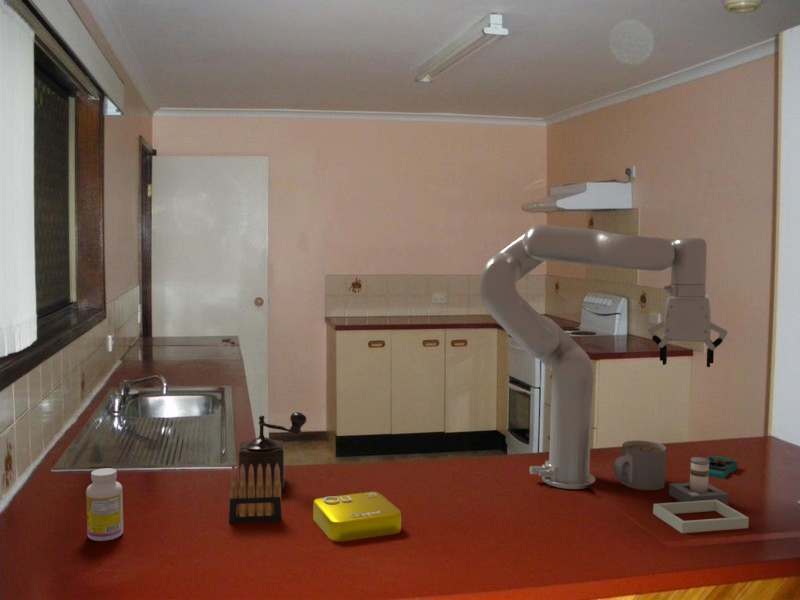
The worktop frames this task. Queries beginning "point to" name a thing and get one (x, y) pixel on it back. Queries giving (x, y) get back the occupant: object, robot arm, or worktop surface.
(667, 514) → the parts tray
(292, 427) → the manual coffee grinder
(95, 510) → the supplement bottle
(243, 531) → the worktop surface
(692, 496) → the fuse holder
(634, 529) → the worktop surface
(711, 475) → the digital multimeter
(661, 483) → the coffee mug
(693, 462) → the cylinder
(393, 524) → the element tile
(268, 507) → the ammunition clip
